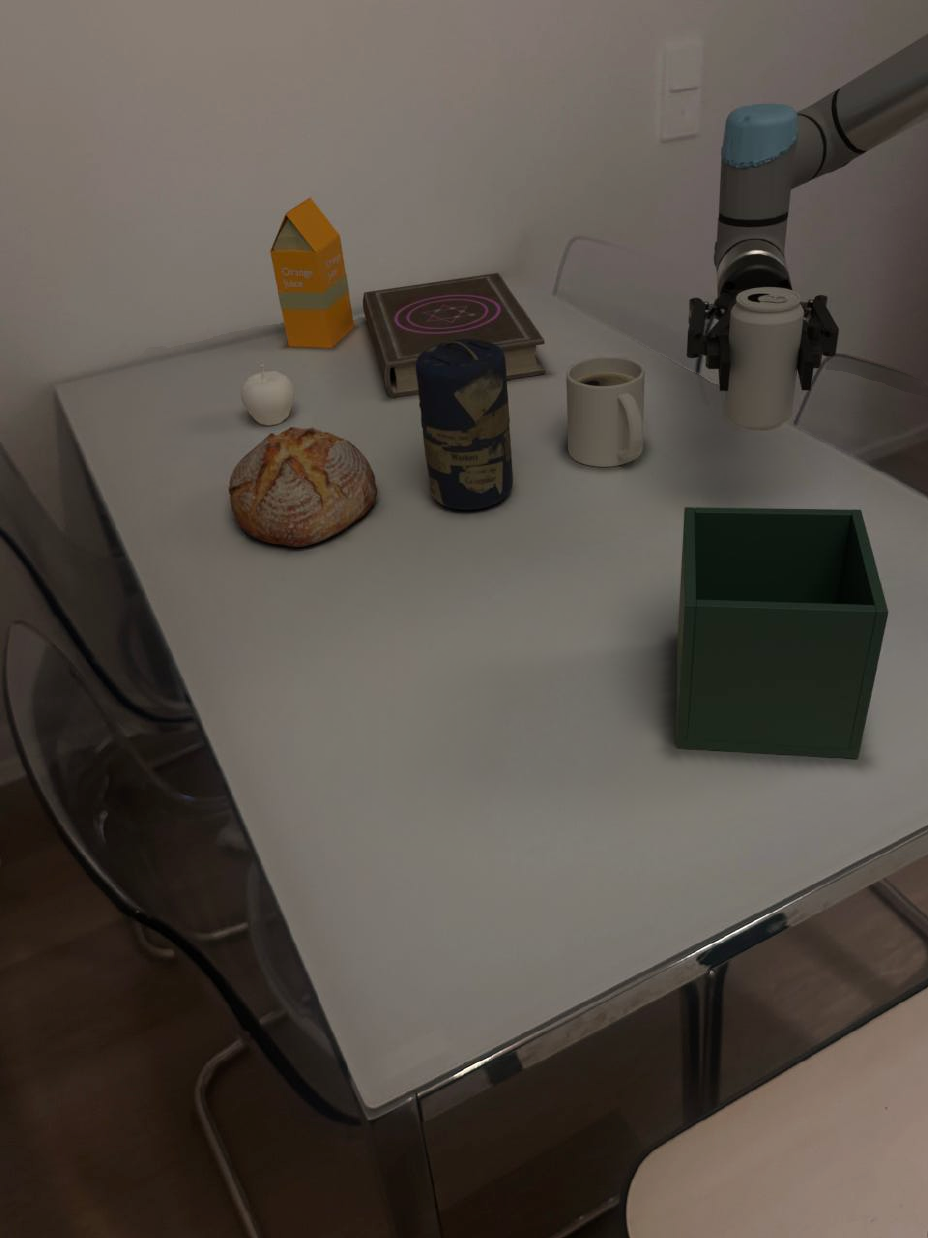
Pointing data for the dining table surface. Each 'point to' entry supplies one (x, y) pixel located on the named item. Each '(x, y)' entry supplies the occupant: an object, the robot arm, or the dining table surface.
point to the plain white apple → (268, 396)
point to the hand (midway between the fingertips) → (766, 376)
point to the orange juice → (311, 279)
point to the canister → (465, 422)
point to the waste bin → (777, 631)
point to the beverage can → (763, 357)
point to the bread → (301, 487)
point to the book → (448, 326)
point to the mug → (605, 410)
